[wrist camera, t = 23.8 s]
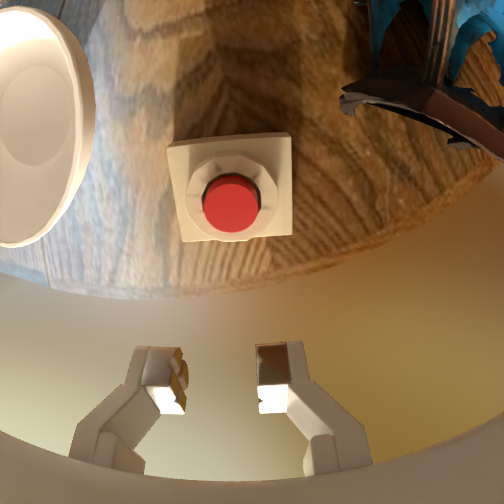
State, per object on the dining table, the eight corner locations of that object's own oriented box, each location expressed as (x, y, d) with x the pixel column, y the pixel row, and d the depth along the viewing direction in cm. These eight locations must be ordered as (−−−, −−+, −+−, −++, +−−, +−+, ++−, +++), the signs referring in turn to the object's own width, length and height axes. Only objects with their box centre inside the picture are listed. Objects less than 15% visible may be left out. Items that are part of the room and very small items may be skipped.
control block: (186, 229, 26) (178, 254, 23) (172, 141, 22) (159, 153, 18) (288, 222, 26) (295, 246, 23) (287, 131, 22) (295, 141, 18)
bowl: (148, 187, 24) (118, 226, 18) (5, 226, 25) (-31, 260, 19) (109, -20, 13) (68, -44, 7) (-34, 72, 14) (-80, 84, 8)
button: (209, 223, 22) (207, 235, 20) (203, 177, 20) (200, 185, 18) (258, 220, 22) (259, 231, 20) (255, 173, 20) (256, 181, 18)
